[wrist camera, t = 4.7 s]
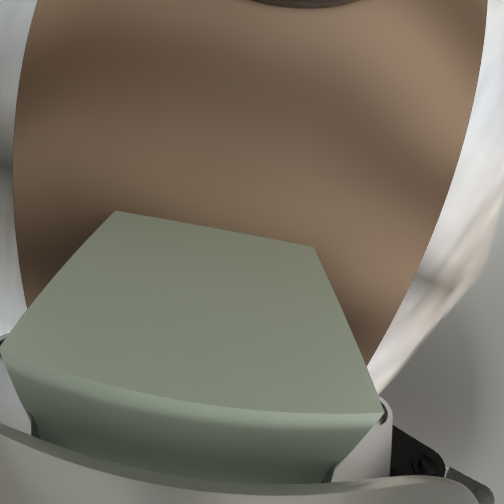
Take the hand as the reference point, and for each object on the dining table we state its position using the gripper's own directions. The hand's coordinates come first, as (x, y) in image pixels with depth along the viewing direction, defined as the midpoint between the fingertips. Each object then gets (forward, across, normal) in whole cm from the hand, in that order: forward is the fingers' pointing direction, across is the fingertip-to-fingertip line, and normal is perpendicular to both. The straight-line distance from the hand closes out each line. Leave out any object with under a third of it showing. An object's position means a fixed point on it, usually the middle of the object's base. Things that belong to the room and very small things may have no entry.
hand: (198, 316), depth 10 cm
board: (+2, 0, -6) cm, 7 cm away
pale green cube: (0, 0, 0) cm, 0 cm away
